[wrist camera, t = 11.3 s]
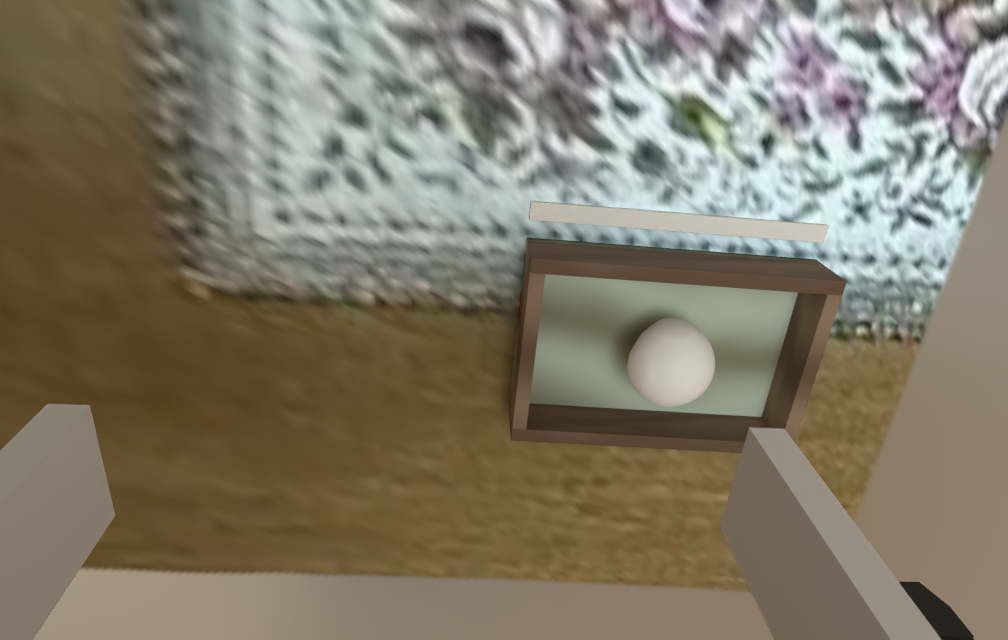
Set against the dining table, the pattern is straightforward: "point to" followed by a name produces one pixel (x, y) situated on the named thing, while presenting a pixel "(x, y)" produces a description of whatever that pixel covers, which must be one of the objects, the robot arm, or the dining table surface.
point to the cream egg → (671, 363)
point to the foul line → (677, 222)
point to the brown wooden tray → (639, 304)
